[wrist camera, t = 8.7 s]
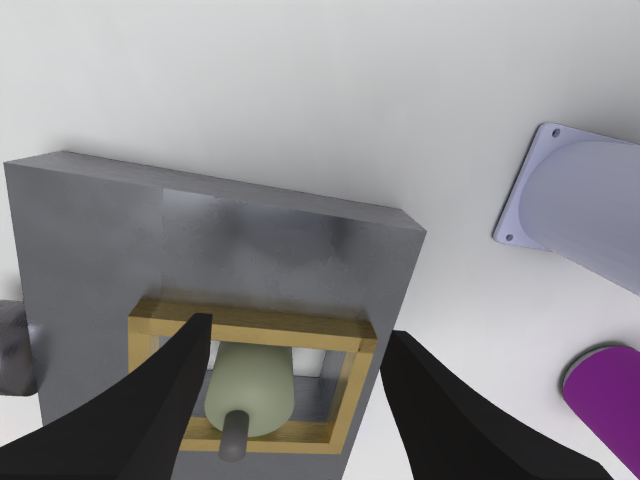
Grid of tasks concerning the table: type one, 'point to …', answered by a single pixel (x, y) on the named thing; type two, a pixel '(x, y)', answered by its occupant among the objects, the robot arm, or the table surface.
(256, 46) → the table surface
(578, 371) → the beverage can
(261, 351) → the spout can
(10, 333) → the grey panel with frame
